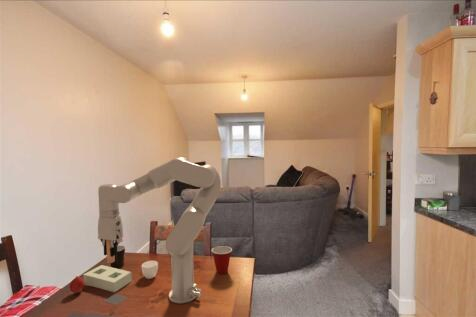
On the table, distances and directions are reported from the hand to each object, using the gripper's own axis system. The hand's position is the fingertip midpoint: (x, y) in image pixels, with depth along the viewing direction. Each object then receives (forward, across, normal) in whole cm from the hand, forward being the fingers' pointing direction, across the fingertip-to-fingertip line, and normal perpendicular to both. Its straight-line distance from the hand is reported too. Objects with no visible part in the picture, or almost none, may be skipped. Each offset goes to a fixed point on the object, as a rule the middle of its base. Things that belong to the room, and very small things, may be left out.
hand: (110, 254), depth 111 cm
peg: (+3, 0, 0) cm, 3 cm away
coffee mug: (+20, +20, -21) cm, 35 cm away
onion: (+20, +18, +3) cm, 27 cm away
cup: (+20, -4, -21) cm, 29 cm away
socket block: (+20, +11, -8) cm, 24 cm away
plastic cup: (+19, -36, -37) cm, 55 cm away
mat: (+19, -3, +1) cm, 20 cm away
